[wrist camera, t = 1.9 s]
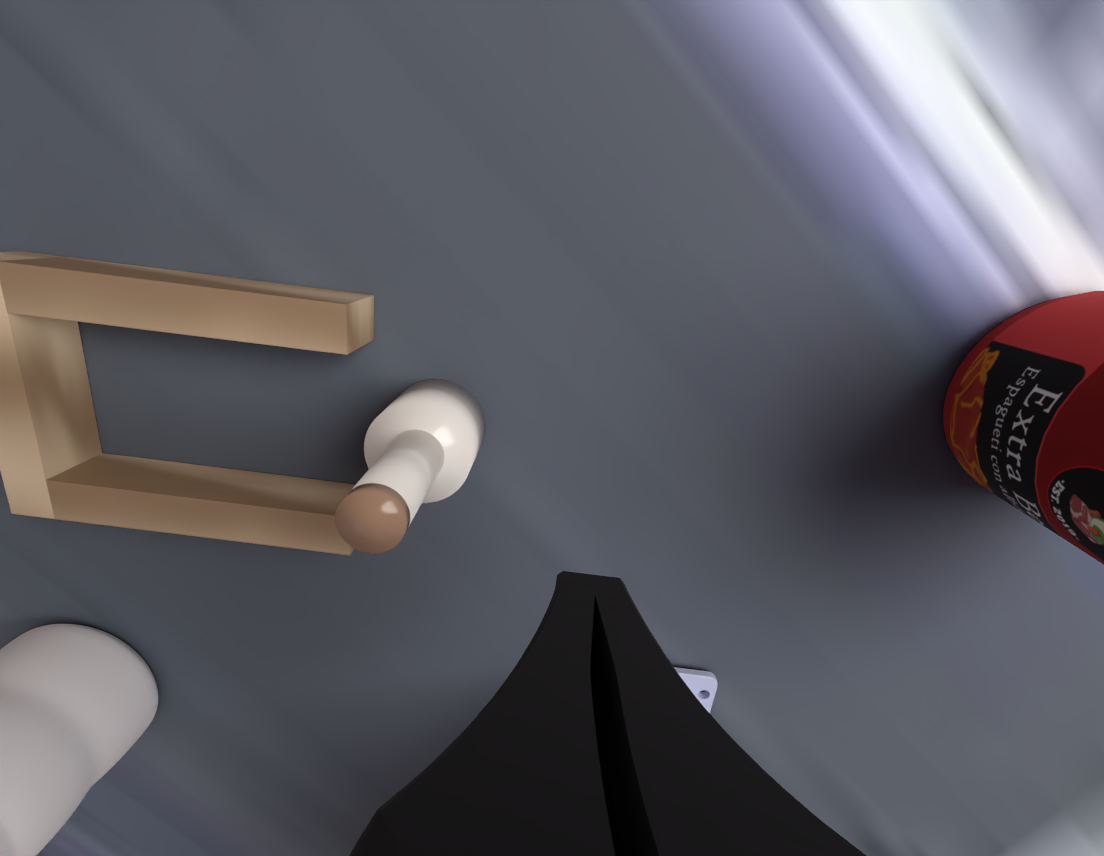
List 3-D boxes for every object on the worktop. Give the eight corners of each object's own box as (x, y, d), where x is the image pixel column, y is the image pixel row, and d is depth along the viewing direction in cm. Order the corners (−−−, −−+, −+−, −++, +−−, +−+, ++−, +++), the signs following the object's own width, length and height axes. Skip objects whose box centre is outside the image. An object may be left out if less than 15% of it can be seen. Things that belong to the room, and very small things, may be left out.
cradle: (373, 521, 23) (350, 555, 20) (70, 483, 23) (11, 513, 20) (374, 295, 19) (346, 304, 17) (20, 251, 19) (-56, 254, 17)
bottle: (481, 472, 22) (436, 590, 15) (391, 461, 22) (302, 573, 15) (488, 385, 20) (442, 468, 13) (393, 373, 20) (296, 450, 13)
